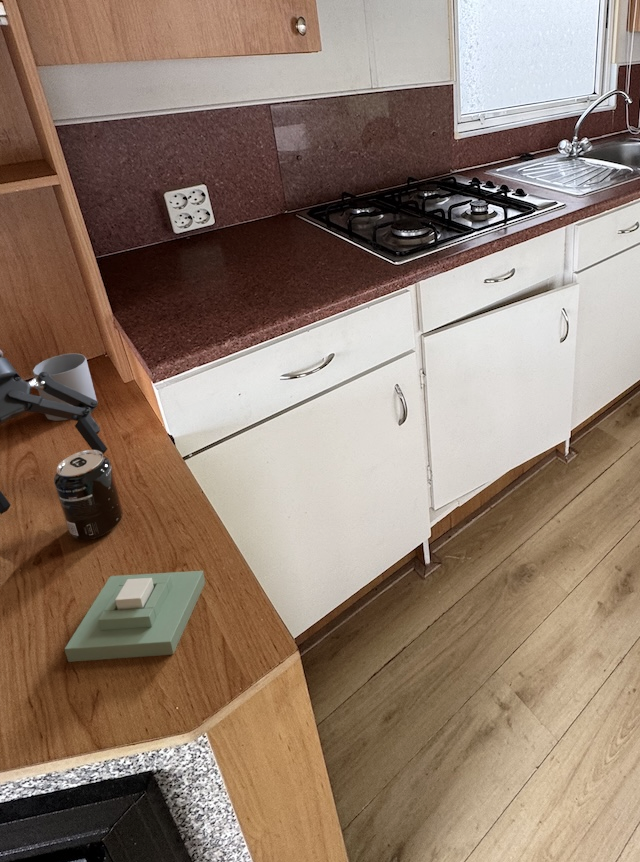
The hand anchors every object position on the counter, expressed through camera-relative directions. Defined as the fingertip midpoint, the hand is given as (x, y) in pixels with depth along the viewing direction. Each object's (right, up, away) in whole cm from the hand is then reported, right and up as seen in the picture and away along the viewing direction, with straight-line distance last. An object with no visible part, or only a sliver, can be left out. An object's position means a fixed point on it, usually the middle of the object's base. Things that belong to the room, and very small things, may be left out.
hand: (57, 479), depth 88 cm
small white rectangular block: (+22, -9, -16) cm, 28 cm away
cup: (-18, +3, +28) cm, 33 cm away
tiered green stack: (+22, -12, -14) cm, 29 cm away
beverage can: (+6, -7, 0) cm, 10 cm away
